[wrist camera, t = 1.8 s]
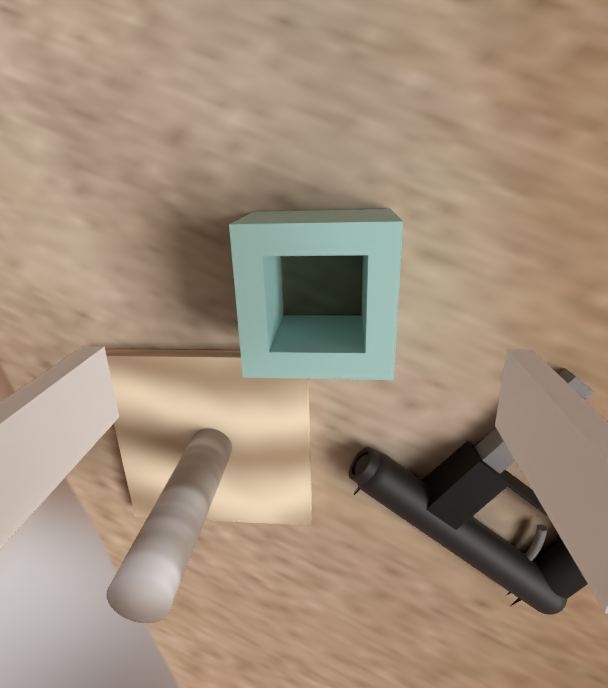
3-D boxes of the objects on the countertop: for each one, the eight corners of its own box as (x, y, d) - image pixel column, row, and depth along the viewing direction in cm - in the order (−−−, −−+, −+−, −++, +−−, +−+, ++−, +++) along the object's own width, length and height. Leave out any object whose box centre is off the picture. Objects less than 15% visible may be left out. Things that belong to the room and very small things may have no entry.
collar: (253, 211, 26) (229, 224, 20) (390, 208, 25) (402, 221, 20) (262, 336, 29) (242, 377, 23) (384, 337, 28) (393, 380, 23)
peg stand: (107, 348, 30) (-53, 473, 18) (307, 350, 29) (280, 486, 17) (141, 506, 36) (35, 683, 23) (311, 513, 34) (293, 705, 22)
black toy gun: (513, 323, 25) (336, 500, 30) (730, 505, 28) (541, 637, 33) (492, 308, 28) (335, 470, 33) (690, 474, 31) (522, 598, 36)
